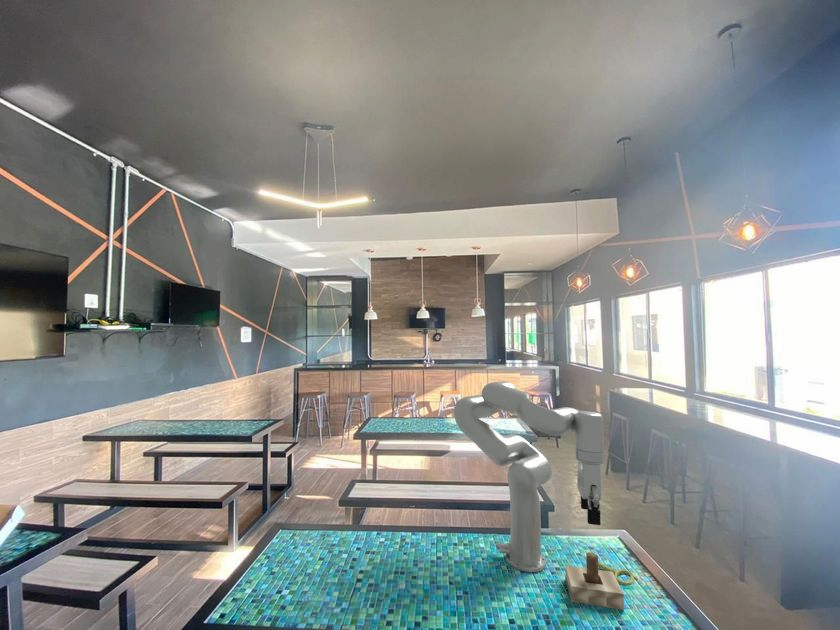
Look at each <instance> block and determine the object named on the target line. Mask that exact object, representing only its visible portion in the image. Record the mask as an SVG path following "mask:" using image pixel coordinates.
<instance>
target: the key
mask: <svg viewBox="0 0 840 630" xmlns="http://www.w3.org/2000/svg"><path fill="white" fill-rule="evenodd" d="M598 568H600V569H602V570H603V571H610V572H613V573H614V575H615V578H616V580H617V582H618V584H619V585H623V586H629V585H633V584H634V582H635V578H634V575H633V574H632V573H631V572H630V571H629V570H627V569H622V568H621V569H617V570H615V568H610V567H609V566H607V565H605V564H604V563H601V562H600V561H598ZM623 573H626V574H625V575H628V574H629V575H630V576H629V575H628V576H629V578H630V577H631V578H630V579H629V580H628V581H625V580H621V579H619V578H618V576H619V575H622V574H623ZM633 581H634V582H633Z"/></svg>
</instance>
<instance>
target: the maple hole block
mask: <svg viewBox="0 0 840 630" xmlns="http://www.w3.org/2000/svg"><path fill="white" fill-rule="evenodd" d="M564 568H565V570H564V572H565V577H564V578H565V582H566V586H567V590H568V593H569V594H568V595H569V598H570V600H571V602H572V603H576V604H583V605H590V606H595V607H601V608H602V607H603V608H608V609H615V610H621V611H624V610H625V594H624V591H623V590H622V588H621V586H620V583H618V582H617V580H616V578H615V575H614V573H613V572H610V571H606V570H604V569H602V570H601V569H598V576H599V584H593V583H587V567H580V566H572V565H567V564H566V565H564Z"/></svg>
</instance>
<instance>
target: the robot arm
mask: <svg viewBox="0 0 840 630" xmlns="http://www.w3.org/2000/svg"><path fill="white" fill-rule="evenodd" d="M499 411H503V412H505V413H508V414H510V415H513V416H516V418H519V419H520V421H522V422H523V423H524V424H525V425H527V426H528V427H530V428H532V429H534V430H536V431H539V432H541V433H543V434H546V435H548V436H553V437H559V436H562V435H565V434H570V433H575V460H576V461H577V475H576V476H577V478H576V479H577V481H576V483H577V484H576V485H577V487H576V488H577V490H578V492H579V494H580V508H581V510H587V511H586V512H587V524H588V525H594V526H600V525H602V524H601V506H600V501H601V500H602V471H601V470H602V469H601V465H603V464H604V463H605V457H604V456H605V451H604V450H605V448H604V445H605V444H604V443H605V442H604V440H605V438H604V437H605V435H604V417H603V415H602V414H601V413H599V412H596V411H587V410H586V411H585V410H580V409H577V408H573V407H568V406H564V407H559V408H554V409H552V408H547V407H545V406H542V405H539V404H536V403H535V402H533V401H532V400H531V396H530V395H529V393H528V392H525V391H523V390H520V389H517V388H516V387H515V385H514V384H512V383H511V382H509V381H503V380H502V381H493V382H489V383H487V384H486V385H484V387H483V388H482V390H481V394H477V395H469V396H468V395H467V396H465V397H461V398H459V400H458V401H456V402H455V404H454V407H453V417H454V421H455V423H456V425H457V427H458V429H459V430H460V431H461V432H462V433H463V434H464V435H465V436H466V437H467V438H468V439H470V440H471V441H472V442H473V443H474V444H475V445H476V447H478V449H480V450H481V451H482V452H483V453H484V454H485V455H486V456H487V457H488V458H489V460H491V461H492V462H493V463H494V464H495V465H496V466H498V467H505V466H508V465H509V468H508V470H507V474H506V477H507V484H508V489H509V505H510V507H509V509H510V513H509V516H510V517H509V519H510V521H509V522H510V526H509V527H510V532H509V534H510V537H509V541H508V542H506V543H502V542H496V550H499V553H500V554H505V560H506V562H507V563H508V564H509V566H510V567H512V568H513V569H516V570H519V571H521V572H527V573H537V572H541V571H542V570H544V569H546V566H547V559H546V557H545V556H544V555H543V553H542V533H541V532H542V526H541V525H542V521H541V500H540V496H539V493H538V488H539V487H541V486H542V485H544V484H546V483H547V482H549V481H550V479H551V478H552V476H553V468H552V466H551V464H550V462H549V459H547V458H546V457H545V456H544V455H543V454H542V453H541V452H540V451H539V450H537V448H535V447H534V446H533V445H532V444H530V442H529V441H527V440H526V439H525V438H524V437H522V436H520V435H518V434H515V433H509V434H505V435H503V434H501V433H500V432H498V431H497V430H496V429H494V428H493V426H492V425H490V424H488V423H487V422H485V421H484V420H481V418H486V417H490V416H492V415H493V414H495V413H498V412H499Z"/></svg>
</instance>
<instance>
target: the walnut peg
mask: <svg viewBox="0 0 840 630" xmlns="http://www.w3.org/2000/svg"><path fill="white" fill-rule="evenodd" d="M585 558H586V559H585V560H586V568H587V583H593V584H599V576H598V570H599V567H598V562H599V556H598V554H596V553H595V552H586V557H585Z"/></svg>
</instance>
